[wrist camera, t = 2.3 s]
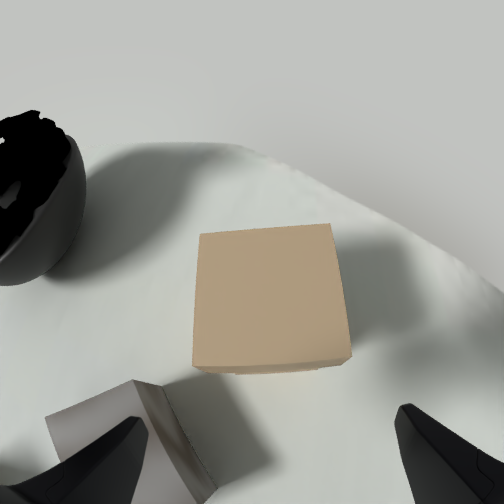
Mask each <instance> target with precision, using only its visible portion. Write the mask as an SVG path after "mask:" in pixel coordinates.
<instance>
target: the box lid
mask: <svg viewBox="0 0 504 504" xmlns="http://www.w3.org/2000/svg"><path fill="white" fill-rule="evenodd" d="M351 357H352V351H351V342H350V334H349V327H348V320H347V313H346V306H345V300H344V293H343V287H342V281H341V276H340V270H339V265H338V259H337V254H336V249H335V244H334V239H333V234H332V230H331V225H330V223H329V224H314V225H300V226H287V227H274V228H262V229H250V230H238V231H227V232H216V233H205V234H200V239H199V250H198V263H197V276H196V291H195V308H194V328H193V355H192V366H193V367H196V368H198V369H200V370H202V371H204V372H207V373H254V372H275V371H290V370H302V369H312V368H322V367H331V366H339V365H342V364H343V363H344V362H346V361H347V360H348V359H350V358H351Z"/></svg>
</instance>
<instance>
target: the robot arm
mask: <svg viewBox="0 0 504 504" xmlns="http://www.w3.org/2000/svg"><path fill="white" fill-rule="evenodd" d="M394 424H395V430H396V434H397V439H398V444H399V449H400V454H401V459H402V462H403V466H404V469H405V472H406V475H407V478H408V481H409V484H410V487H411V491H412V494H413V497H414V501H415V504H504V463H503V462H501V461H499V460H497V459H495V458H493V457H491V456H490V455H488V454H486V453H485V452H483V451H482V450H480V449H477V447H475V446H474V445H472V444H471V443H469V442H468V441H466V440H465V439H463V438H462V437H460V436H459V435H457V434H456V433H454V432H453V431H451V430H450V429H448V428H447V427H445V426H444V425H442V424H441V423H439V422H438V421H436V420H435V419H433V418H432V417H430V416H429V415H427V414H426V413H425V412H423V411H422V410H420V409H419V408H417V407H416V406H414V405H413V404H411V403H408V404H404V405H401V406H400V407H399V409H398V412H397V415H396V418H395V423H394ZM148 437H149V432H148V429H147V427H146V425H145V423H144V421H143V419H142V418H141V417H138V416H129V417H127V418H126V419H125V420H123V421H122V422H120V423H119V424H118V425H116V426H115V427H113V428H112V429H111V430H109V431H108V432H106V433H105V434H103V435H102V436H100V437H99V438H98V439H96V440H95V441H93V442H92V443H90V444H89V445H87V446H86V447H84V448H83V449H81V450H80V451H78V452H77V453H75V454H74V455H72V456H70V457H69V458H67V459H66V460H65V461H63V462H61V463H59V464H58V465H56V466H54V467H53V468H51V469H49V470H48V471H46V472H44V473H42V474H40V475H37V476H35V477H33V478H31V479H28V480H26V481H24V482H22V483H19V484H16V485H12V486H3V485H0V504H131V502H132V499H133V496H134V493H135V489H136V486H137V483H138V480H139V477H140V474H141V471H142V467H143V462H144V457H145V452H146V447H147V442H148Z"/></svg>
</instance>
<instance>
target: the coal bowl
mask: <svg viewBox="0 0 504 504" xmlns="http://www.w3.org/2000/svg"><path fill="white" fill-rule="evenodd" d="M39 114H40V112H39V111H36V110H30V111H27V112H25V113H22V114H20V115H16V116H13V117H7V118H5V119H3V120H1V121H0V138H2V137H3V139H5V141H4V143H1V144H0V286H13V285H19V284H23V283H26V282H29V281H31V280H33V279H35V278H37V277H39V276H41V275H42V274H44V273H45V272H47V271H48V270H49V269H50V268H52V267H53V266H54V265H55V264H56V263H57V262H58V261H59V260H60V259H61V257H62V256H63V255H64V254H65V252H66V251H67V249H68V248H69V246H70V245H71V243H72V241H73V239H74V237H75V235H76V233H77V231H78V228H79V226H80V223H81V220H82V216H83V212H84V207H85V200H86V175H85V169H84V163H83V160H82V156H81V153H80V151H79V148H78V146H77V144H76V142H75V140H74V139H73V138H72V137H70V136H69V135H65V133H64V132H63V130H62V129H61V128H58V127H56V125H55V122H54V121H52V120H50V119H47V118H43V119H40V118H39Z"/></svg>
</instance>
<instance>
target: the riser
mask: <svg viewBox="0 0 504 504" xmlns="http://www.w3.org/2000/svg"><path fill="white" fill-rule="evenodd" d="M129 416H138V417H141V418H142V419H143V421H144V423H145V425H146V427H147V429H148V432H149V437H148V442H147V447H146V452H145V457H144V462H143V467H142V471H141V474H140V477H139V480H138V483H137V486H136V489H135V493H134V496H133V499H132V502H131V504H204V503H205V501H206V500H207V499H208V498H209V497H210V496H211V495H212V494H213V493H214V492H215V491H216V490H217V487H216V486H215V484H214V482H213V481H212V479H211V478H210V476H209V475H208V473H207V471H206V470H205V468H204V467H203V465H202V463H201V462H200V460H199V458H198V457H197V455H196V453H195V451H194V450H193V448H192V446H191V444H190V443H189V441H188V439H187V437H186V435H185V433H184V432H183V430H182V428H181V426H180V424H179V422H178V420H177V418H176V416H175V414H174V412H173V410H172V408H171V406H170V404H169V402H168V400H167V398H166V396H165V393H164V391H163V389H162V387H161V386H158V385H154V384H149V383H145V382H141V381H137V380H133V379H132V380H130V381H128V382H126V383H124V384H121V385H119V386H117V387H115V388H113V389H110V390H108V391H106V392H104V393H102V394H99V395H97V396H95V397H92V398H90V399H88V400H85V401H83V402H81V403H78V404H76V405H74V406H71V407H69V408H66V409H64V410H61V411H59V412H56V413H54V414H51V415H49V416H46V417H45V420H46V423H47V427H48V430H49V433H50V436H51V438H52V441H53V444H54V447H55V449H56V452H57V455H58V457H59V459H60V462H63V461H65V460H66V459H67V458H69V457H70V456H72V455H74V454H75V453H77V452H78V451H80V450H81V449H83V448H84V447H86V446H87V445H89V444H90V443H92V442H93V441H95V440H96V439H98V438H99V437H100V436H102V435H103V434H105V433H106V432H108V431H109V430H111V429H112V428H113V427H115V426H116V425H118V424H119V423H120V422H122V421H123V420H125V419H126V418H127V417H129Z"/></svg>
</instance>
